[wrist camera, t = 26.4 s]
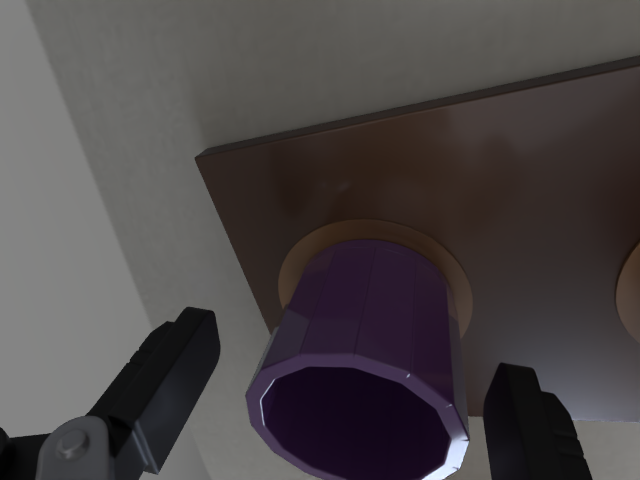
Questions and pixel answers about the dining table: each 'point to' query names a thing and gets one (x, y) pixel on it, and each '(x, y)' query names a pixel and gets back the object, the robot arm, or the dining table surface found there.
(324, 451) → the ramekin
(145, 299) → the dining table surface
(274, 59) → the dining table surface
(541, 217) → the serving board
